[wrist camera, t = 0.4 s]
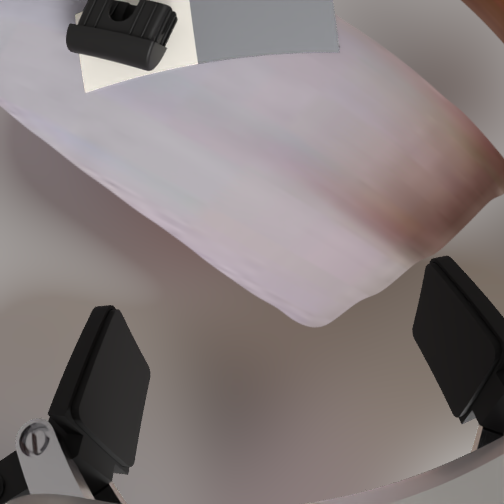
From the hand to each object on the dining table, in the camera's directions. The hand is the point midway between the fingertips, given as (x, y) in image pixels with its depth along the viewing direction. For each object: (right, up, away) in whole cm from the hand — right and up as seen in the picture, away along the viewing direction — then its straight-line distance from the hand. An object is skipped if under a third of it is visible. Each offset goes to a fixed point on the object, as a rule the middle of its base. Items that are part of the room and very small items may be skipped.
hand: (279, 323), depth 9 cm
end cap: (-14, +27, +19) cm, 36 cm away
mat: (+1, +28, +18) cm, 34 cm away
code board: (-14, +27, +19) cm, 36 cm away
